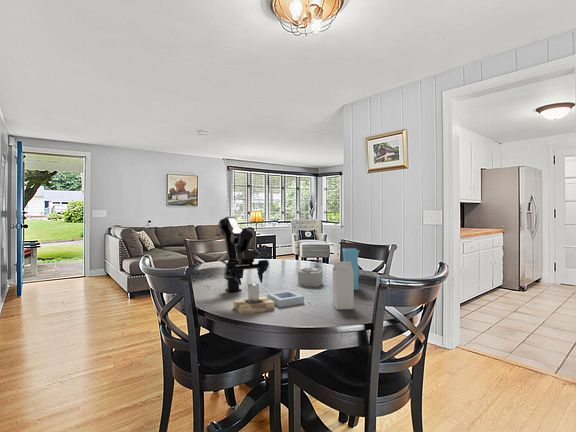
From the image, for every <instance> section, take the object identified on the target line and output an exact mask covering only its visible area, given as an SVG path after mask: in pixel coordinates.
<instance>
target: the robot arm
mask: <svg viewBox="0 0 576 432" xmlns="http://www.w3.org/2000/svg"><path fill="white" fill-rule="evenodd" d="M218 229H219V231H220V234H221V235H222V236H223V237H224V243H225V249H226V257H227V262H226V264H225V267H224V273H223V278H224V279H225V281H227V288H225V291H227V292H228V293H235V292H242V289H241V288H240V286H241V285H242V281H241V279H243V278H244V277H243V276H244V270H256V271H257V277H258V279H259V282H260V284H262V283H263V277H264V273H266V272H267V270H268V268H269V265H270V264H269V261H268V259H260V260H258V262H257V263H254V262H255V258H256V257H259V255H260V253H259V249H258V248H253V249H249V247H250V246H251V243H252V240H253V237H254V234H253V233H252V231H250V230H248V229H247V228H241V227H240V226H239V224H238V222H237V218H236V216H233V215H232V216H225V217H224V218H221V219H220V220H219V222H218Z"/></svg>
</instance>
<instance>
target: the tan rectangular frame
mask: <svg viewBox="0 0 576 432" xmlns="http://www.w3.org/2000/svg"><path fill="white" fill-rule="evenodd" d="M232 303H233V306H232V307H233V309H234V310H235V311H237V312H238V313H239V314H240V315H242V316H243V315H244V316H245V315H251V314H254V313H261V312H266V311H271V310H275V306H276V305H275V304H274V301H272V300H270V299H268V298H267V296H265V295H264V296H259V303H255V304H248V298H243V299H237V300H236V299H235V300H233V301H232Z"/></svg>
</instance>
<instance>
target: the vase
mask: <svg viewBox="0 0 576 432" xmlns="http://www.w3.org/2000/svg"><path fill="white" fill-rule="evenodd" d="M341 249H342V250H341V251H342V255H343V259H342V260H343V261H342V262H351V265H352V269H353V273H354V291H358V290H360V287H359V277H360V272H361V271H360V267H359V264H358V263H359V262H358V258H359V255H360V249H358V248H341ZM357 249H358V250H357Z"/></svg>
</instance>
